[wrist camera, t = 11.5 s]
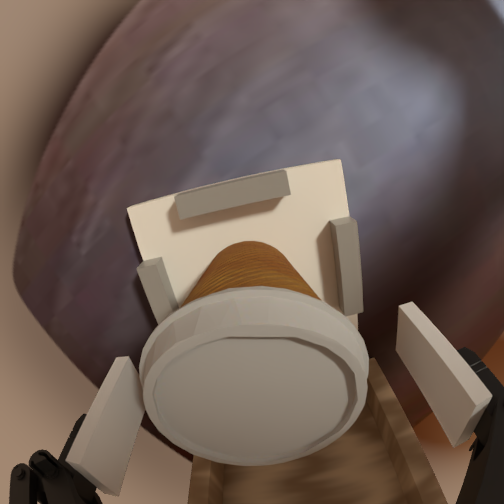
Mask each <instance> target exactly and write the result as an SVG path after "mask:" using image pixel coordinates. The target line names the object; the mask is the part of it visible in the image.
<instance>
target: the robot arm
mask: <svg viewBox="0 0 504 504" xmlns="http://www.w3.org/2000/svg"><path fill="white" fill-rule="evenodd" d="M396 351H397V353H398V355H399V356H400V358H401V359H402V361H403V362H404V364H405V366H406V367H407V369H408V370H409V372H410V374H411V375H412V377H413V378H414V380H415V382H416V383H417V385H418V387H419V388H420V390H421V392H422V393H423V395H424V397H425V398H426V400H427V402H428V403H429V405H430V407H431V409H432V410H433V412H434V414H435V415H436V417H437V419H438V421H439V423H440V424H441V426H442V428H443V430H444V431H445V433H446V435H447V437H448V439H449V441H450V443H451V444H452V446H453V448H454V447H456V446H458V445H460V444H462V443H463V442H465V441H467V440H469V438H470V437H471V435H472V433H473V432H474V433H475V434H476V436H477V438H476V439H475V441H474V442H473V444H472V445H471V447H470V449H469V451H471V450H472V449H473V452H472V455H471V459H470V463H469V466H468V469H467V473H466V476H465V479H464V482H463V485H462V488H461V491H460V494H459V496H458V499H457V502H456V504H504V387H503V385H502V384H501V383H500V382H499V380H498V379H497V378H496V377H495V376H494V374H493V373H492V372H491V371H490V370H489V368H487V367H486V365H485V364H484V363H483V362H481V359H480V358H479V357H478V356H477V355H476V354H475V352H473V351H471V350H469V349H467V348H466V347H464V348H462V349H459V350H457V351H456V350H455V348H454V347H453V346H452V345H451V344H450V343H449V341H448V340H447V339H446V338H445V337H444V336H443V335H442V333H441V332H440V331H439V330H438V329H437V328H436V327H435V326H434V324H433V323H432V322H431V321H430V320H429V319H428V318H427V317H426V316H425V315H424V313H423V312H422V311H421V310H420V309H419V308H418V307H417V306H416V305H415V304H414V303H413V302H409V303H406V304H403V305H399V308H398V327H397V340H396ZM144 412H145V404H144V400H143V389H142V385H141V381H140V376H139V374H138V372H137V370H136V369H135V367H134V365H133V363H132V361H131V360H130V358H129V356H128V357H116V359H115V361H114V363H113V365H112V367H111V368H110V370H109V372H108V374H107V376H106V378H105V380H104V382H103V384H102V385H101V387H100V389H99V391H98V393H97V395H96V397H95V399H94V401H93V403H92V405H91V407H90V409H89V411H88V413H87V414H83V415H82V416H81V417H80V418H79V419H78V420H77V421H76V423H75V425H74V428H73V431H71V434H70V438H68V440H67V442H66V444H65V446H64V448H63V451H62V452H61V455H60V457H59V459H58V460H57V459H56V458H55V457H53V456H52V455H51V454H50V453H49V452H48V451H47V450H39V451H37V452H35V453H34V454H33V455H32V456H31V458H30V460H29V466H27V465H26V464H24V463H20V464H18V465H16V466H15V467H14V468H13V470H12V473H11V480H10V497H9V504H37V501H38V502H39V503H40V504H102V502H101V500H100V497H99V496H98V494H97V493H96V492H95V491H96V488H98V489H99V490H101V491H102V492H103V493H105V494H109V495H114V496H119V493H120V490H121V486H122V483H123V479H124V476H125V472H126V469H127V466H128V462H129V459H130V456H131V452H132V449H133V446H134V443H135V440H136V436H137V433H138V430H139V427H140V424H141V421H142V418H143V415H144ZM473 447H474V448H473ZM32 469H33V470H32Z"/></svg>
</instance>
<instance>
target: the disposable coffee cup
mask: <svg viewBox="0 0 504 504" xmlns="http://www.w3.org/2000/svg"><path fill="white" fill-rule="evenodd" d="M368 372H369V356H368V353H367V349H366V346H365V343H364V340H363V338H362V337H361V335H360V333H359V332H358V330H357V329H356V327H355V326H354V325H353V324H352V322H351V321H350V320H349V319H348V318H347V317H346V316H344V315H343V314H342V313H340V312H339V311H337V310H336V309H334V308H333V307H331V306H330V305H328V304H327V303H326V302H324V301H321V299H320V298H319V297H318V296H317V294H316V293H315V292H314V291H313V289H312V288H311V287H310V286H309V285H308V284H307V282H306V281H305V280H304V279H303V277H302V276H300V274H299V273H298V272H297V270H296V269H295V268H294V267H293V266H292V264H291V263H290V262H289V261H288V260H287V258H286V257H285V256H284V255H283V254H282V253H281V252H280V251H279V250H278V249H276V248H274V247H273V246H271V245H268V244H266V243H263V242H258V241H243V242H239V243H235V244H232V245H230V246H228V247H226V248H225V249H223V250H222V251H221V252H219V253H218V254H217V255H216V257H215V258H214V259H213V260H212V262H211V263H210V265H209V266H208V268H207V269H206V271H205V272H204V273H203V275H202V276H201V277H200V279H199V281H198V282H197V284H196V285H195V287H194V288H193V289H192V291H191V292H190V294H189V295H188V297H187V298H186V299H185V301H184V303H183V304H182V305H181V307H180V308H179V309H177V310H176V311H174V312H172V313H171V314H170V315H168V316H167V317H166V318H165V319H164V320H163V321H162V322H161V323H160V324H159V325H158V326H157V327H156V328H155V329H154V331H153V332H152V334H151V335H150V337H149V339H148V340H147V342H146V344H145V346H144V348H143V351H142V355H141V360H140V364H139V373H140V381H141V385H142V389H143V400H144V404H145V409H146V411H147V413H148V415H149V418H150V419H151V421H152V422H153V424H154V425H155V426H156V428H157V429H158V430H159V431H160V432H161V433H162V434H163V435H164V436H165V437H166V438H168V439H169V440H170V441H171V442H172V443H173V444H175V445H177V446H179V447H180V448H182V449H184V450H186V451H188V452H189V453H191V454H193V455H196V456H199V457H202V458H205V459H208V460H211V461H215V462H219V463H225V464H232V465H240V466H264V465H272V464H279V463H284V462H288V461H291V460H295V459H298V458H301V457H304V456H308V455H310V454H312V453H314V452H316V451H319V450H321V449H322V448H324V447H326V446H328V445H329V444H331V443H332V442H334V441H335V440H337V439H338V438H340V437H341V436H342V435H343V434H344V433H345V432H346V431H347V430H348V429H349V428H350V427H351V426H352V425H353V423H354V422H355V421H356V420H357V418H358V416H359V414H360V413H361V411H362V409H363V407H364V405H365V401H366V395H367V389H368V386H367V377H368Z"/></svg>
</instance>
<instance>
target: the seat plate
mask: <svg viewBox="0 0 504 504" xmlns="http://www.w3.org/2000/svg"><path fill="white" fill-rule="evenodd" d="M127 211H128V214H129V218H130V221H131V224H132V228H133V231H134V234H135V237H136V240H137V243H138V247H139V250H140V253H141V256H142V259H143V262H142V263H141V264H140V265H139V266H138V268H137V271H138V274H139V277H140V280H141V282H142V285H143V288H144V290H145V293H146V295H147V298H148V301H149V303H150V306H151V308H152V311H153V313H154V315H155V318H156V320H157V323H158V325H159V324H160V323H161V322H162V321H163V320H164V319H165V318H166V317H167V316H168V315H170V314H171V313H172V312H174V311H176V310H177V309H179V308H180V307H181V305H182V304H183V303H184V301H185V299H186V298H187V297H188V295H189V294H190V292H191V291H192V289H193V288H194V287H195V285H196V284H197V282H198V281H199V279H200V277H201V276H202V275H203V273H204V272H205V271H206V269H207V268H208V266H209V265H210V263H211V262H212V260H213V259H214V258H215V257H216V255H217V254H218V253H219V252H221V251H222V250H223V249H225V248H226V247H228V246H230V245H232V244H235V243H239V242H243V241H258V242H263V243H266V244H268V245H271V246H273V247H274V248H276V249H278V250H279V251H280V252H281V253H282V254H283V255H284V256H285V257H286V258H287V260H288V261H289V262H290V263H291V264H292V266H293V267H294V268H295V269H296V270H297V272H298V273H299V274H300V276H302V277H303V279H304V280H305V281H306V282H307V284H308V285H309V286H310V287H311V288H312V289H313V291H314V292H315V293H316V294H317V296H318V297H319V298H320V299H321V301H324V302H326V303H327V304H328V305H330V306H331V307H333V308H334V309H336V310H337V311H339V312H340V313H342V314H343V315H344V316H346V317H347V318H348V319H349V320H350V321H351V322H352V324H353V325H354V326H355V327H356V329H357V330H358V317H357V314H358V313H361V312H363V291H362V274H361V260H360V248H359V237H358V228H357V221H356V220H354V219H353V218H351V217H349V211H348V203H347V196H346V189H345V183H344V177H343V171H342V165H341V160H339V159H334V160H328V161H322V162H316V163H310V164H305V165H299V166H294V167H288V168H283V169H278V170H273V171H268V172H263V173H258V174H254V175H249V176H244V177H240V178H235V179H231V180H227V181H222V182H218V183H214V184H210V185H206V186H202V187H198V188H194V189H190V190H186V191H182V192H178V193H175V194H171V195H167V196H164V197H160V198H157V199H153V200H150V201H146V202H143V203H139V204H136V205H133V206H130V207H128V208H127Z"/></svg>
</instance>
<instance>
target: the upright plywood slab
mask: <svg viewBox="0 0 504 504" xmlns="http://www.w3.org/2000/svg"><path fill="white" fill-rule="evenodd" d="M367 386H368V389H367V395H366V401H365V405H364V407H363V409H362V411H361V413H360V414H359V416H358V418H357V420H356V421H355V422H354V423H353V425H352V426H351V427H350V428H349V429H348V430H347V431H346V432H345V433H344V434H343V435H342V436H341V437H340V438H338V439H337V440H335V441H334V442H332V443H331V444H329V445H328V446H326V447H324V448H322V449H321V450H319V451H316V452H314V453H312V454H310V455H308V456H304V457H301V458H298V459H295V460H291V461H288V462H284V463H279V464H272V465H264V466H240V465H232V464H225V463H219V462H215V461H211V460H208V459H205V458H202V457H199V456H196V455H194V456H193V464H192V472H191V480H190V488H189V496H188V504H448V503H447V501H446V498H445V496H444V494H443V492H442V489H441V487H440V485H439V483H438V481H437V478H436V476H435V474H434V472H433V470H432V468H431V466H430V463H429V461H428V459H427V457H426V455H425V453H424V451H423V449H422V447H421V445H420V443H419V441H418V439H417V437H416V435H415V433H414V431H413V429H412V427H411V425H410V423H409V421H408V419H407V417H406V415H405V413H404V411H403V409H402V407H401V405H400V404H399V402H398V400H397V398H396V396H395V394H394V392H393V390H392V389H391V387H390V385H389V383H388V381H387V379H386V378H385V376H384V374H383V372H382V370H381V369H380V367H379V365H378V363H377V361H376V360H375V358H371V359H369V372H368V377H367Z"/></svg>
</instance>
